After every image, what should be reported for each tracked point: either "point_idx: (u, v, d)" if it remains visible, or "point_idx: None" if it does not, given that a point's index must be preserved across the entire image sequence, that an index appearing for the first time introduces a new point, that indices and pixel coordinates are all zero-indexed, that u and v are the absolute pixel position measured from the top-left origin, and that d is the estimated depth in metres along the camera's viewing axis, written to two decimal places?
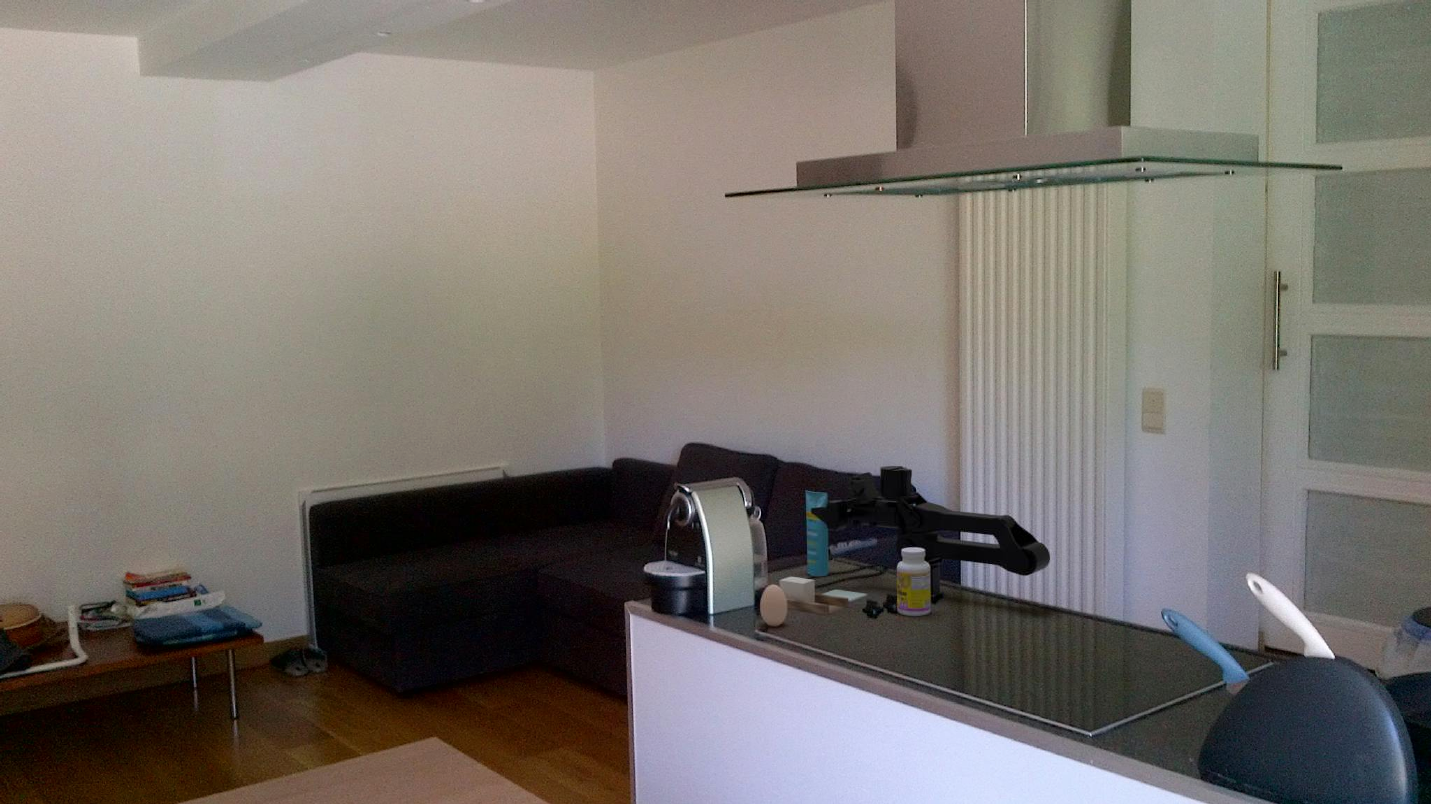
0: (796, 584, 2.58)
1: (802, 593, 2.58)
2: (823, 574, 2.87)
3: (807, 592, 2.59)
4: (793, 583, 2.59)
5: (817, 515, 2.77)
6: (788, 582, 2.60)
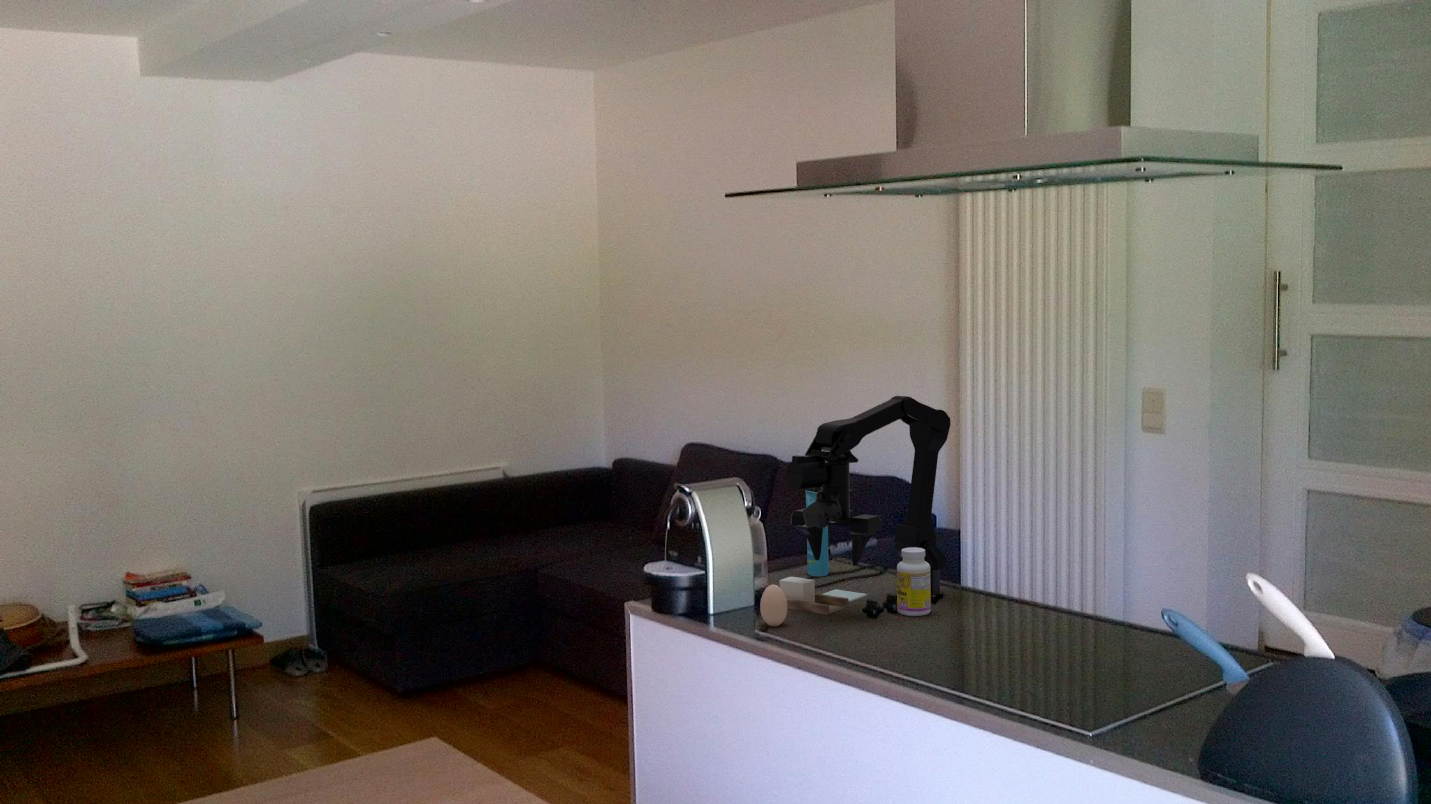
0: (796, 584, 2.58)
1: (802, 593, 2.58)
2: (823, 574, 2.87)
3: (807, 592, 2.59)
4: (793, 583, 2.59)
5: (860, 554, 2.51)
6: (788, 582, 2.60)
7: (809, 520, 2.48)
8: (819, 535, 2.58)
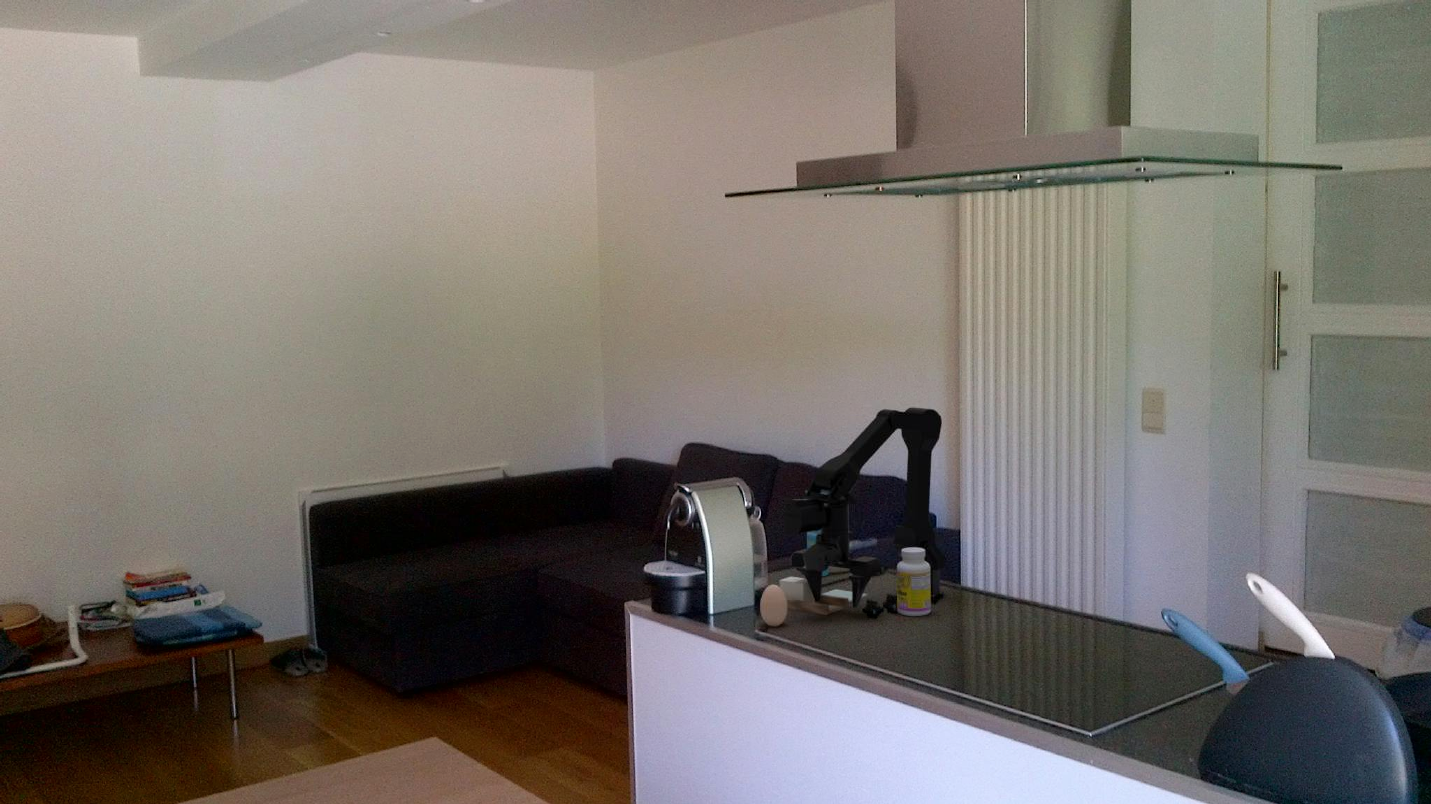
0: (796, 584, 2.58)
1: (802, 593, 2.58)
2: (823, 574, 2.87)
3: (807, 592, 2.59)
4: (793, 583, 2.59)
5: (860, 596, 2.52)
6: (788, 582, 2.60)
7: (809, 563, 2.48)
8: (819, 576, 2.59)
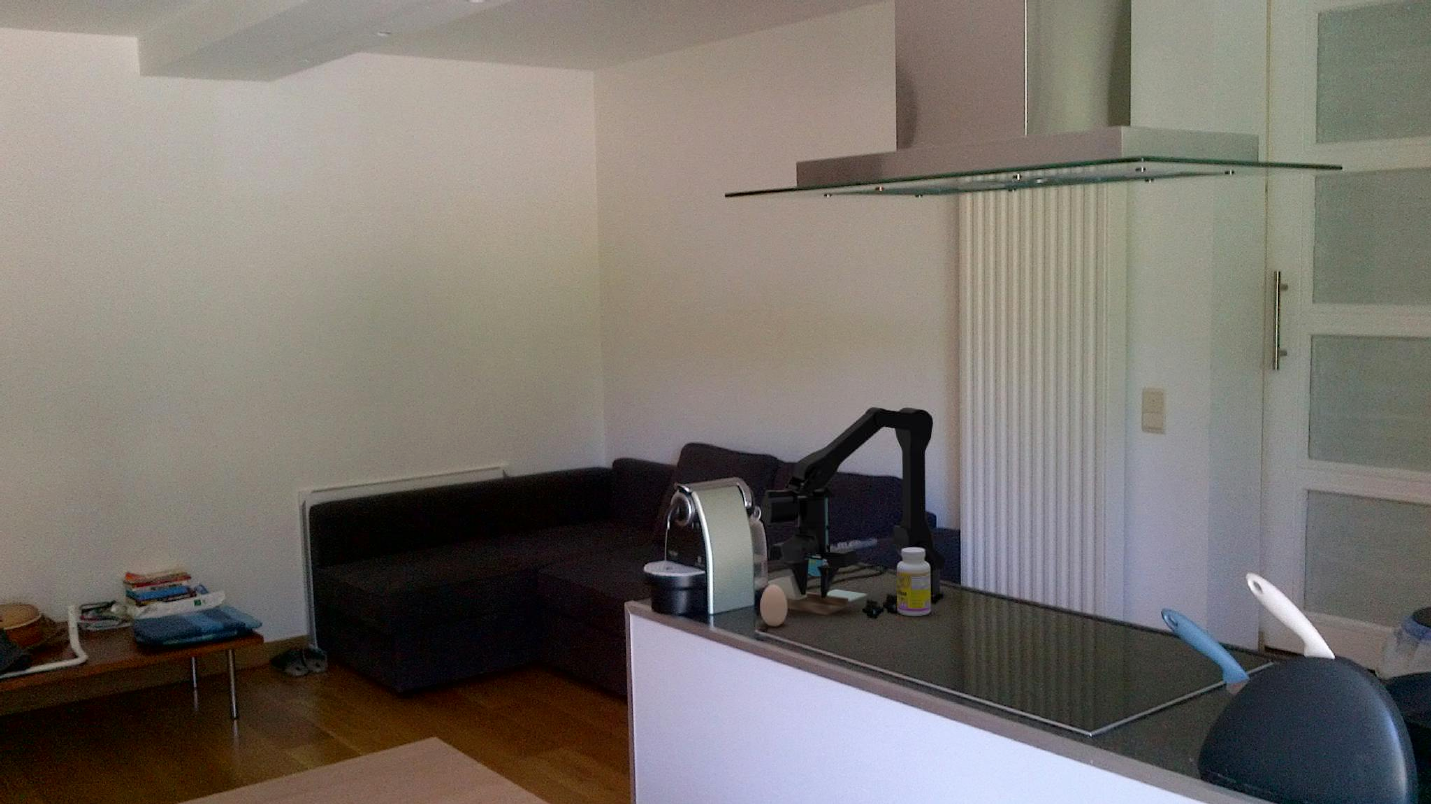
0: (784, 580, 2.60)
1: (791, 587, 2.59)
2: None
3: (797, 585, 2.60)
4: (781, 580, 2.61)
5: (829, 586, 2.57)
6: (776, 580, 2.61)
7: (787, 555, 2.52)
8: (805, 569, 2.61)
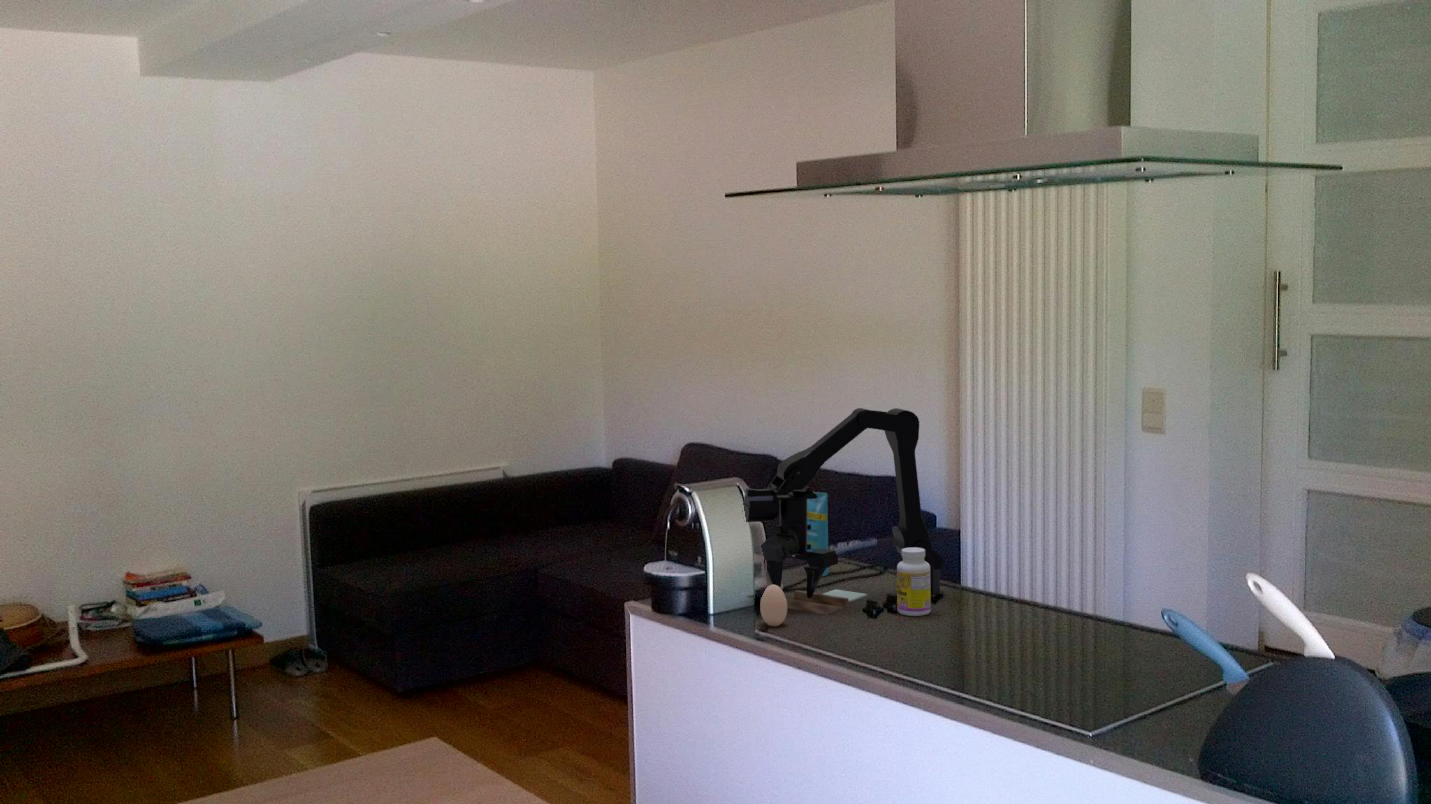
0: None
1: None
2: (823, 574, 2.87)
3: None
4: None
5: (815, 587, 2.59)
6: None
7: (767, 554, 2.55)
8: (780, 567, 2.65)
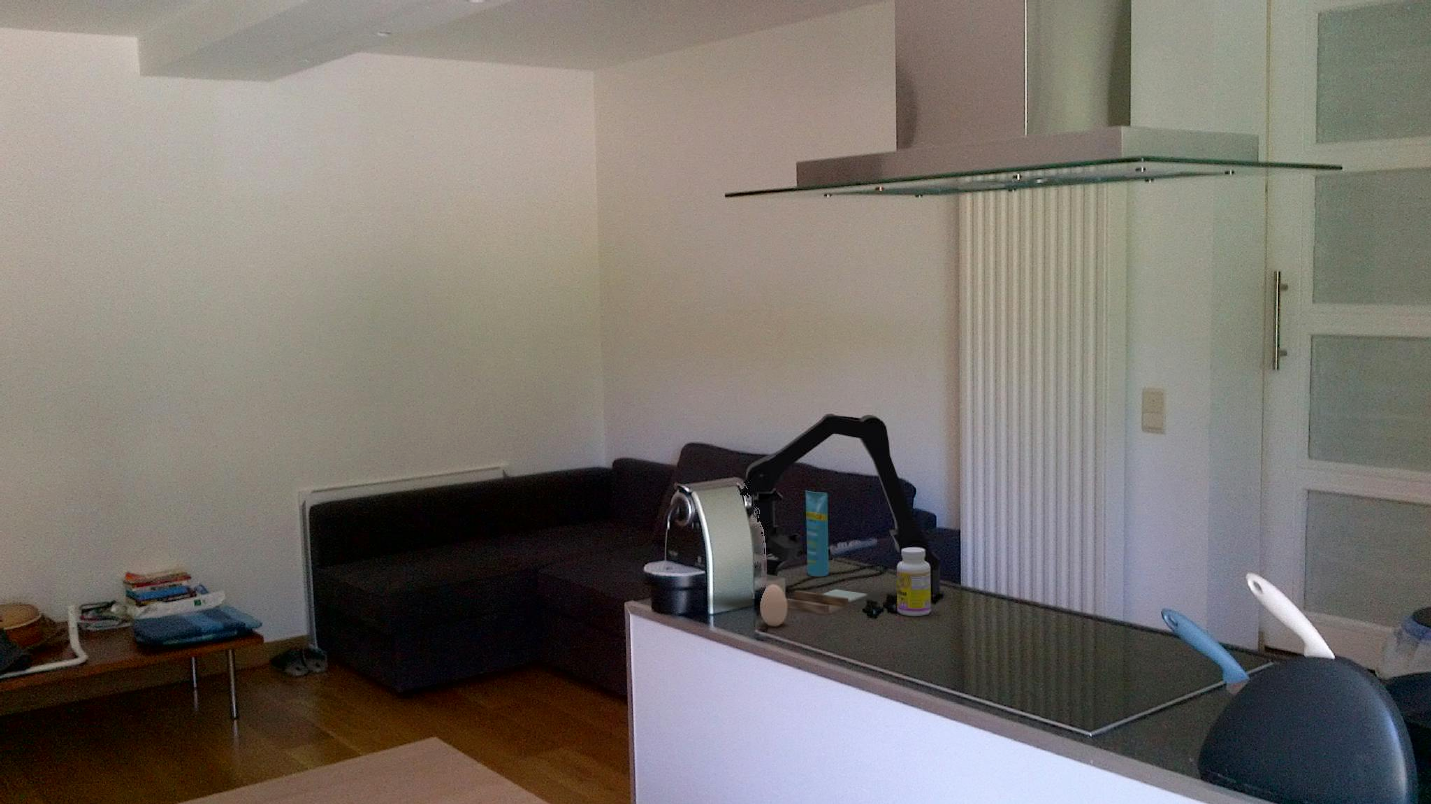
0: None
1: None
2: (823, 574, 2.87)
3: None
4: None
5: None
6: None
7: (790, 554, 2.61)
8: None
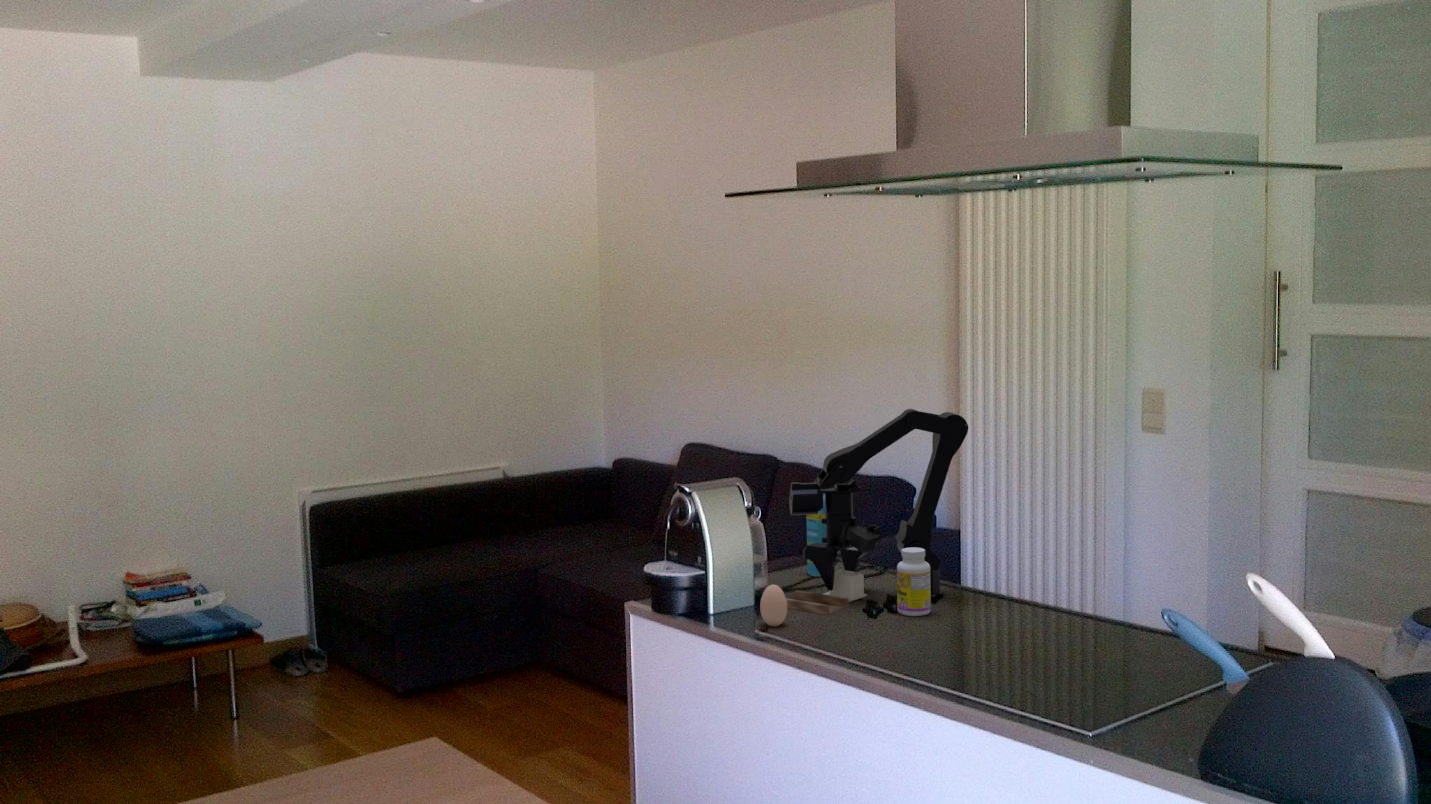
0: (844, 577, 2.62)
1: (850, 586, 2.61)
2: None
3: (856, 585, 2.62)
4: (842, 576, 2.63)
5: None
6: (837, 575, 2.64)
7: (870, 545, 2.60)
8: None
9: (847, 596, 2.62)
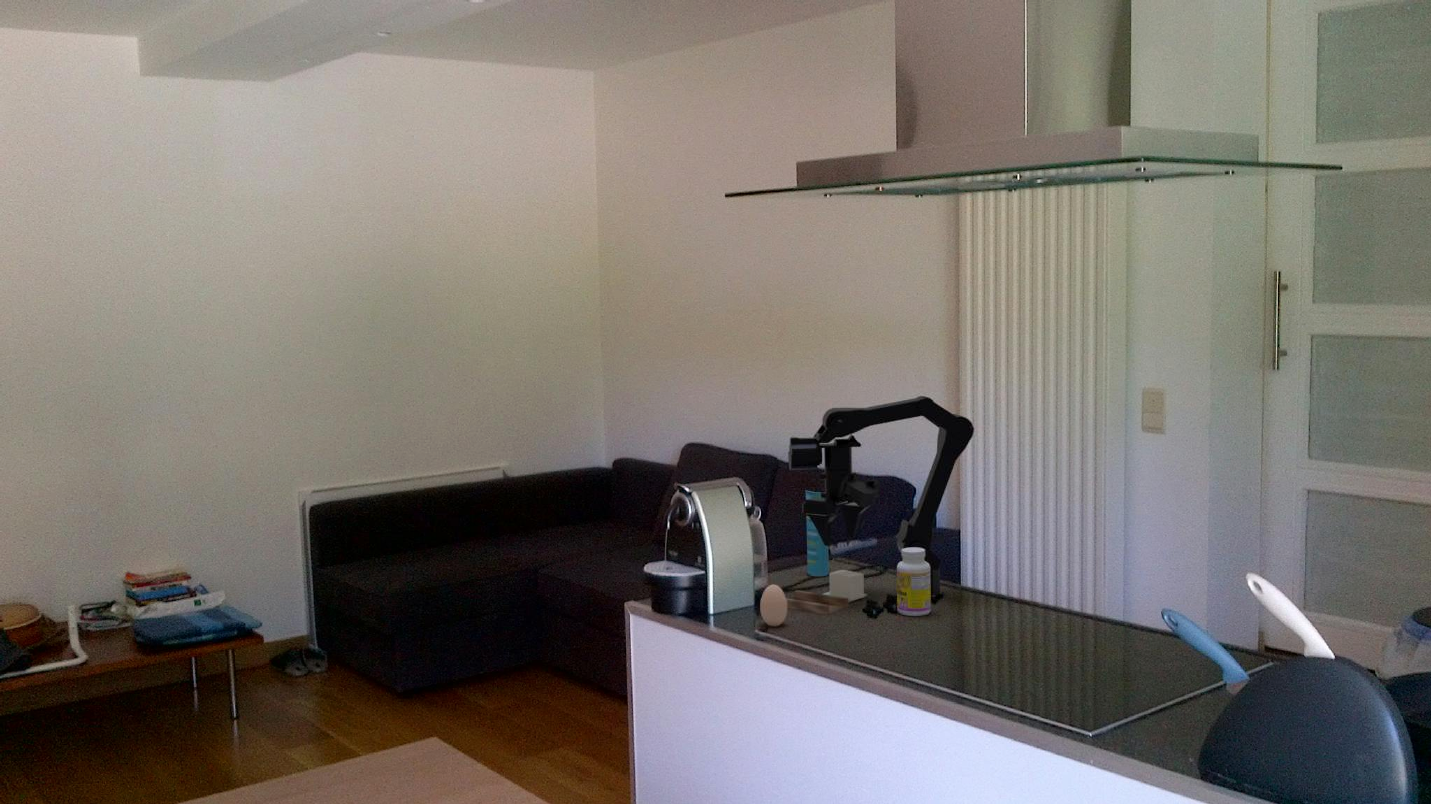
0: (844, 577, 2.62)
1: (850, 586, 2.61)
2: (823, 574, 2.87)
3: (856, 585, 2.62)
4: (842, 576, 2.63)
5: None
6: (837, 575, 2.64)
7: (869, 500, 2.59)
8: None
9: (847, 596, 2.62)
